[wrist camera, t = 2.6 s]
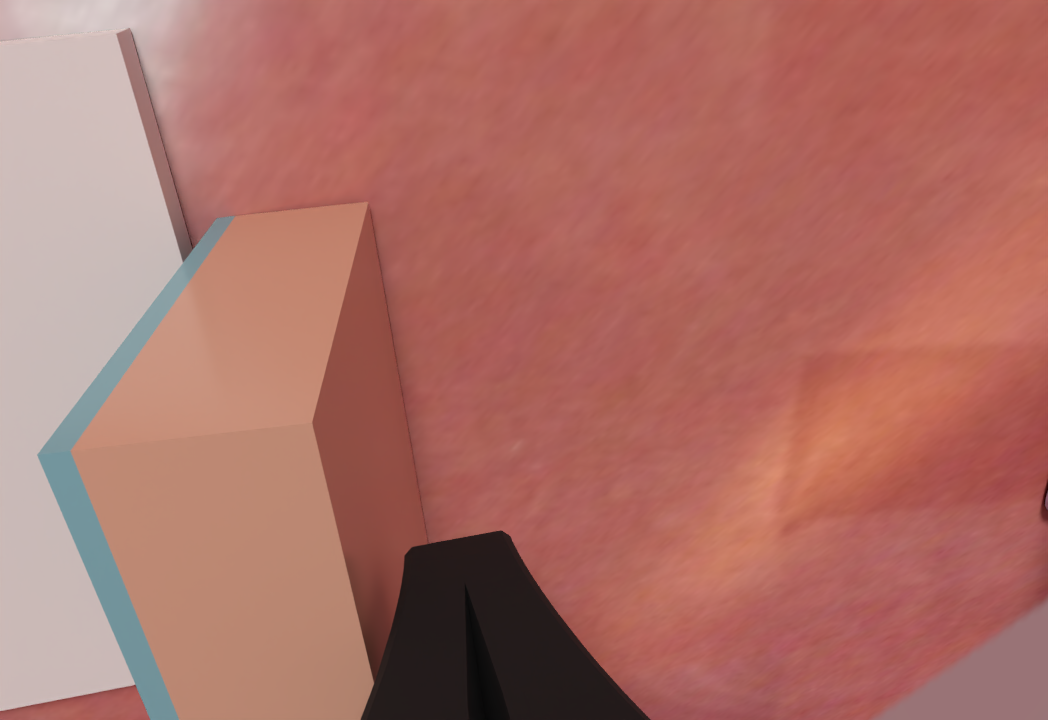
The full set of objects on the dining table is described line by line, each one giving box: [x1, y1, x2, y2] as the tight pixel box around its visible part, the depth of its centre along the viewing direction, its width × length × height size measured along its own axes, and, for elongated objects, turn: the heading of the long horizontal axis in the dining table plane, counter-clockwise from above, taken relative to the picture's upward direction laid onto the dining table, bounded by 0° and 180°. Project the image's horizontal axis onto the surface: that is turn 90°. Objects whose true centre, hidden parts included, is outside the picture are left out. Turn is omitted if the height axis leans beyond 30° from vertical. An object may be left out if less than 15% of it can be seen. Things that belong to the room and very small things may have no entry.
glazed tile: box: [37, 202, 428, 720], centre depth 13 cm, size 2×8×7 cm, turn 5°
